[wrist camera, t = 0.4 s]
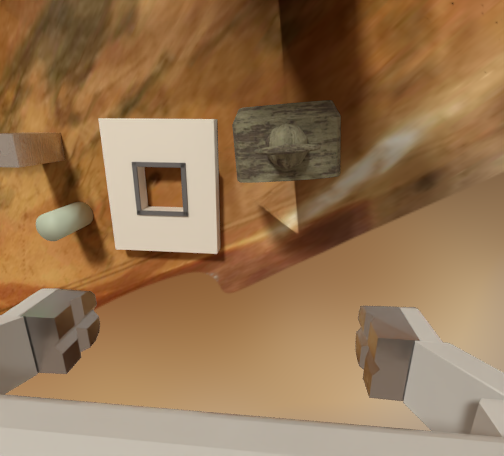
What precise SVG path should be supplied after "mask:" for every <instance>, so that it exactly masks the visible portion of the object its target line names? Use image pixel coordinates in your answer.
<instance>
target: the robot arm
mask: <svg viewBox="0 0 504 456" xmlns="http://www.w3.org/2000/svg"><path fill="white" fill-rule="evenodd" d="M96 304H97V303H96V298H95V294H93V293H92V292H91V291H80V290H67V289H51V288H46V289H40V290H39V291H37V292H36V293H34V294H33V295H31V296H30V297H28V298H27V299H25V300H24V301H22V302H21V303H19V304H18V305H16V306H15V307H13V308H12V309H10V310H9V311H7V312H6V313H4V314H3V315H0V456H504V373H503V372H501V371H500V370H498V369H496V368H494V367H492V366H490V365H489V364H487V363H485V362H483V361H481V360H480V359H478V358H476V357H474V356H472V355H470V354H469V353H467V352H465V351H463V350H461V349H459V348H458V347H456V346H454V345H452V344H450V343H443V342H442V340H441V339H440V337H439V336H438V335H437V333H436V332H435V331H434V329H433V328H432V327H431V325H430V324H429V323H428V321H427V320H426V319H425V317H424V316H423V315H422V313H421V312H420V311H419V309H417V308H415V307H386V306H361V307H360V310H359V316H358V320H359V322H360V325H361V328H360V329H359V330H358V331H357V333H356V355H357V360H358V364H359V366H360V367H361V368H362V369H364V373H363V380H364V383H365V386H366V389H367V392H368V395H369V397H370V398H378V399H388V400H397V401H403V403H404V404H405V405H406V406H407V407H408V408H409V409H410V410H411V411H412V412H413V413H414V414H415V415H416V416H417V417H418V418H419V419H420V420H421V421H422V422H423V423H424V424H425V425H426V426H427V427H428V428H429V429H430V430H431V431H423V430H412V429H400V428H389V427H377V426H366V425H354V424H342V423H330V422H318V421H307V420H295V419H284V418H272V417H260V416H248V415H237V414H224V413H213V412H202V411H190V410H178V409H167V408H155V407H143V406H132V405H119V404H107V403H96V402H85V401H73V400H62V399H50V398H39V397H27V396H14V395H4V394H6V393H7V392H9V391H11V390H12V389H14V388H16V387H17V386H19V385H21V384H22V383H24V382H26V381H27V380H29V379H30V378H32V377H34V376H35V375H37V374H38V373H56V374H67V373H68V372H69V371H70V370H71V368H72V367H73V366H74V365H75V364H76V363H77V361H78V360H79V359H80V358H81V352H82V351H83V350H86V349H88V348H90V347H91V346H92V344H93V343H94V342H95V341H96V338H97V336H98V333H99V329H100V321H99V316H98V315H97V314H96V313H95V312H94V310H93V309H94V308H95V306H96Z"/></svg>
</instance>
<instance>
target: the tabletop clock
mask: <svg viewBox="0 0 504 456" xmlns="http://www.w3.org/2000/svg"><path fill="white" fill-rule="evenodd" d="M233 136H234V147H235V158H236V169H237V179H238V181H239V182H249V183H251V182H275V181H293V180H307V179H320V178H330V177H337V176H339V175H340V141H341V115H340V114H339V112H338V110H337V108H336V107H335V105H334V103H333V101H331V100H326V101H312V102H300V103H288V104H277V105H267V106H256V107H246V108H240V109H239V110H238V113H237V115H236V117H235V120H234V122H233Z"/></svg>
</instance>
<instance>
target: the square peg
mask: <svg viewBox="0 0 504 456" xmlns="http://www.w3.org/2000/svg"><path fill="white" fill-rule="evenodd" d="M64 160H65V156H64V150H63V144H62V138H61V133H38V132H34V133H0V167H25V166H31V165H38V164H44V163H51V162H57V161H64Z"/></svg>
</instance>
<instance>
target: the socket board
mask: <svg viewBox="0 0 504 456" xmlns="http://www.w3.org/2000/svg"><path fill="white" fill-rule="evenodd" d="M98 119H99V126H100V134H101V141H102V149H103V156H104V164H105V172H106V179H107V187H108V194H109V202H110V209H111V217H112V224H113V232H114V240H115V247H116V249H121V250H144V251H166V252H188V253H210V254H218V252H219V250H220V210H219V168H218V126H217V119H113V118H98ZM144 167H176V168H181V181H182V198H183V208H182V207H151V206H148V199H147V189H146V178H145V168H144Z"/></svg>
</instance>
